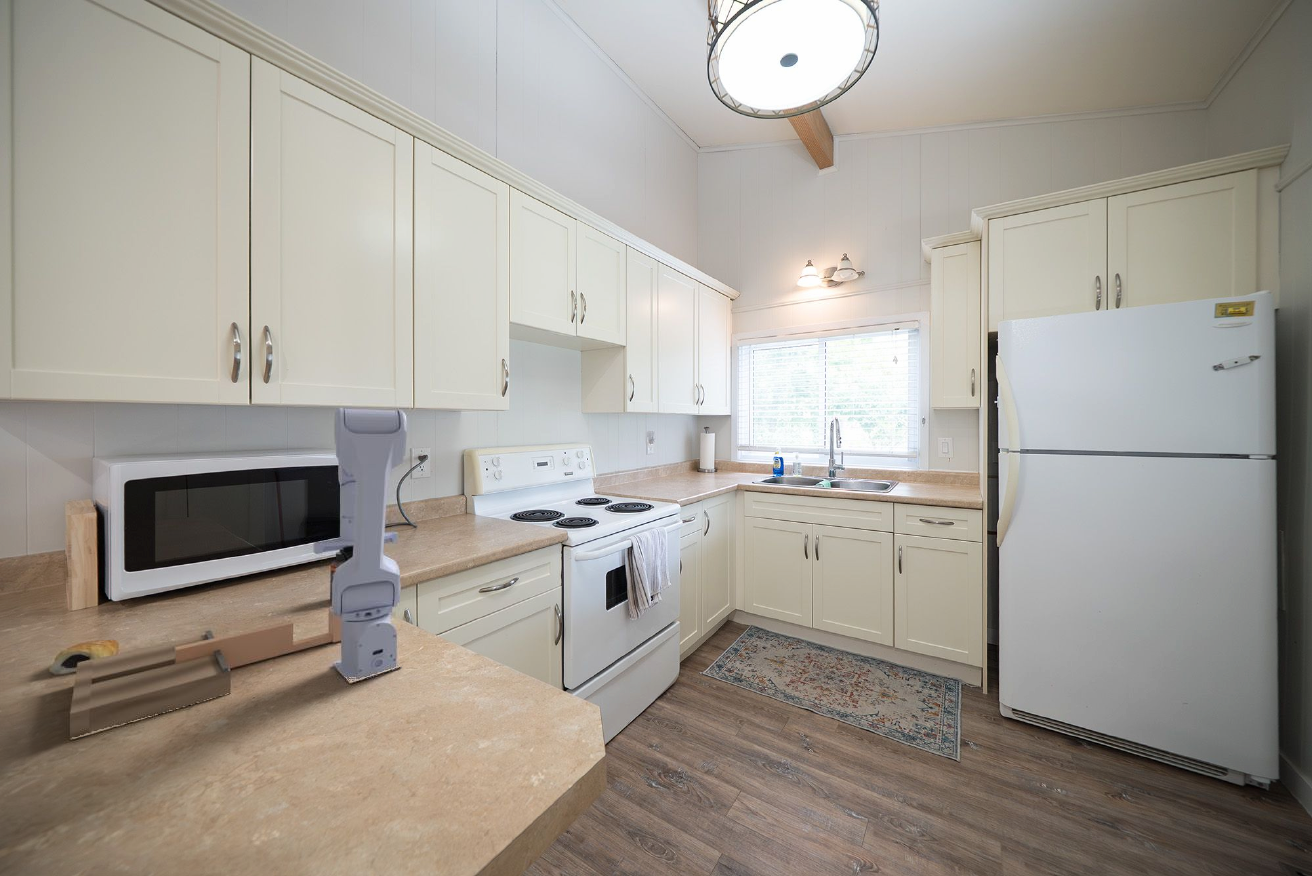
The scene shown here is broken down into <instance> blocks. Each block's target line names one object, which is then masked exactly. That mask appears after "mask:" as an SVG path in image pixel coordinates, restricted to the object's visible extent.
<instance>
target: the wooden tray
mask: <svg viewBox="0 0 1312 876" xmlns="http://www.w3.org/2000/svg"><path fill="white" fill-rule="evenodd" d="M213 638H216V637H215V636H214V634H213V632H212V630H211V629H209V630H205V632H204V634H202V635H196V636H193V637H189V638H183V639H180V640H175V641H169V642H165V643H160V644H156V645H151V646H147V647H143V648H138V649H134V650H129V651H125V652H120V653H117V654H115V655H110V656H106V657H101V658H97V659H92V660H87V661H83V662H78V664H77V671H76V672H75V677H74V678H75V679H74V683H73V684H74V685H73V692H72V699H71V704H70V711H69V712H70V713H69V739H70V738H72V737H78V736H80V735H84V734H86V733H91V732H92V731H97V730H99V729H104V728H107V727H112V726H114V725H121V724H123V723H128V722H130V721H134V720H137V719H141V718H145V717H148V716H153V715H155V714H160V715H162V714H161V713H163V712H167V711H169V710H174V709H176V708H181V707H183V706H188V705H191V704H194V705H196V704H195V703H197V702H201V703H203V702H202V701H204V700H207V699H210V698H214V697H218V696H220V695H225V694H227V693H232V690H231V685H232V684H231V682H232V681H231V678H232V674H231V672H232V671H231V668H229V666H228V664H227V662H226V660H225V658H224V656H223V654H222V653H221V651H220V650H215V651H214V655H210V656H206V657H202V658H198V659H194V660H189V661H185V662H181V663H177V664H175V647H178V646H182V645H187V644H191V643H195V642H200V641H204V640H209V639H213ZM225 696H226V695H225ZM218 698H219V697H218ZM191 706H192V705H191ZM188 707H189V706H188ZM181 709H182V708H181ZM174 711H175V710H174ZM167 713H168V712H167Z"/></svg>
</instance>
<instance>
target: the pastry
mask: <svg viewBox="0 0 1312 876" xmlns="http://www.w3.org/2000/svg"><path fill="white" fill-rule="evenodd" d="M119 645H120V643H119V642H118V641H117V640H115V639H106V640H105V639H98V640H91V641H86V642H81V643H78V644H75V645H72V646H69V647H68V648H67V649H65V650H63V651H61V652H59V653H58V654H57V655H56V657H55V659H54V661H53V664H52V665H50V667H49V669H48V670H49V672H50V673H52V674H53V675H66V674H70V673H76V671H77V664H78V662H83V661H87V660H92V659H97V658H101V657H106V656H110V655H115V654H118V652H119V649H120V647H119Z"/></svg>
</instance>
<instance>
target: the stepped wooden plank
mask: <svg viewBox="0 0 1312 876" xmlns="http://www.w3.org/2000/svg"><path fill="white" fill-rule="evenodd" d="M327 622H328V623H327V624H328V626H327V627H328V629H327V633H322V634H318V635H315V636H311V637H307V638H303V639H299V640H298V639H297V640H295V641H294V622H293V621H292V620H289V621H285V622H279V623H276V624H271V625H267V626H263V627H258V628H254V629H251V630H250V629H249V630H245V631H241V632H236V633H232V634H228V635H227V634H226V635H224V636H223V635H222V636H219V637H215V638H213V639H209V640H204V641H200V642H195V643H191V644H187V645H182V646H178V647H175V664H177V663H181V662H185V661H189V660H194V659H198V658H202V657H206V656H210V655H214V651H215V650H220V651H221V653H222V654H223V656H224V658H225V660H226V662H227V664H228V666H229V668H230V669H232V668H233V669H234V668H236V667H240V666H244V665H247V664H251V663H255V662H259V661H263V660H267V659H270V658H274V657H278V656H279V657H280V656H282V655H286V654H289V653H293V652H297V651H301V650H304V649H308V648H311V647H316V646H320V645H324V644H327V643H331V642H332V643H337V642H341V615H340V616H339V617H336V616H335V615H334V614H333V613H332V607H329V608H328V621H327Z"/></svg>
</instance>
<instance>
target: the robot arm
mask: <svg viewBox="0 0 1312 876" xmlns="http://www.w3.org/2000/svg"><path fill="white" fill-rule="evenodd" d="M333 422H334V424H333V425H334V428H333V429H334V430H333V431H334V432H333V434H334V437H333V439H334V444H335V455H336V456H335V457H336V458H337V460H338V461H337V462H338V468H337V469H338V472H337V474H338V483H339V485H340V493H341V494H340V537H337V538H332V539H327V540H320V541H314V542H313V553H314V554H316V555H320V554H323V553H327V552H335V551H340V553H341V555H342V556H343V558H344V560H345V563H343V564H342V565H340V566H339V567H337V568H336V570H335V572H334V577H333V582H332V601H331V608H332V613H333V614H334V615H335V616H336V617H339V616H340V615H341V640H340V644H341V645H340V655H341V656H340V659H339V660H335V661H334V662H332V666H333V665H334V666H335V667H336V668H337V669H336V668H335V667H334V666H333V667H334V668H335V669H336V671H337V670H339V672H341V674H343V676H345V677H347V679H348V680H349V679H355V678H349V677H356V679H360V678H362V677H367V676H370V675H372V674H377V673H378V672H382V671H384V670H388V669H391V668H394V667H396V666H397V660H398V659H397V658H398V654H397V653H398V651H397V649H398V634H397V629H396V627H395V626H394V625H393V623H392V622H391V614H392V613H393V608H396V607H397V606H398V604H400V602H401V596H402V595H401V593H402V592H401V591H402V590H401V588H402V586H401V571H400V568H399V565H398V563H397V561H396V560H395V559H393V558H390V557H388V556H386V555H385V554H384V547H385V546H384V545H385V544H389V543H392V544H394V543H398V542H399V537H398V536H399V533H398V532H395V531H391V532H385V531H386V530H385V529H386V514H387V512H386V511H387V502H388V501H387V498H388V487H389V486H388V485H389V481H390V477H391V474H392V470H393V469H395V468H396V467H398V466H400V465H402V464H403V463H404V458H405V457H406V449H407V436H408V421H407V415H406V413H405V412H404V411H403V410H402V409H397V410H393V409H391V410H387V409H362V408H361V409H360V408H359V409H358V408H343V407H338V408H337V409H336V410H335V411H334V420H333ZM399 666H400V665H399ZM339 672H338V673H339ZM341 674H340V675H341ZM343 676H342V677H343ZM349 681H350V680H349ZM352 681H354V680H352Z"/></svg>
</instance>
